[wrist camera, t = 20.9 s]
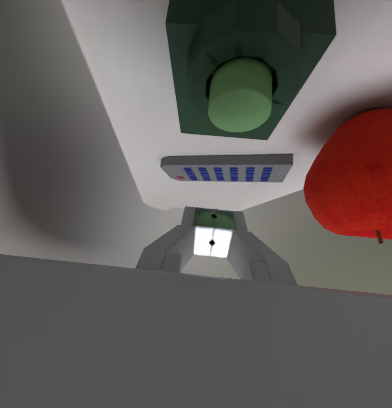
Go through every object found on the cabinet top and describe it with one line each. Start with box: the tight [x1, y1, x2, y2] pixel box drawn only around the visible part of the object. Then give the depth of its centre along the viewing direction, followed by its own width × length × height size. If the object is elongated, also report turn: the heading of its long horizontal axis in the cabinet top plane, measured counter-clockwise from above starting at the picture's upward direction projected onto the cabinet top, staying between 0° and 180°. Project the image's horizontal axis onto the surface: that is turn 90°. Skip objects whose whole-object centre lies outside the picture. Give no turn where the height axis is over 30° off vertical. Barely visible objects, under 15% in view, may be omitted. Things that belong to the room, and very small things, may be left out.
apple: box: [304, 108, 392, 244], centre depth 20 cm, size 12×12×13 cm
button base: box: [166, 0, 336, 140], centre depth 14 cm, size 11×9×6 cm
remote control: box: [160, 154, 293, 182], centre depth 35 cm, size 8×23×2 cm, turn 103°
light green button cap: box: [208, 57, 272, 132], centre depth 11 cm, size 4×4×2 cm
